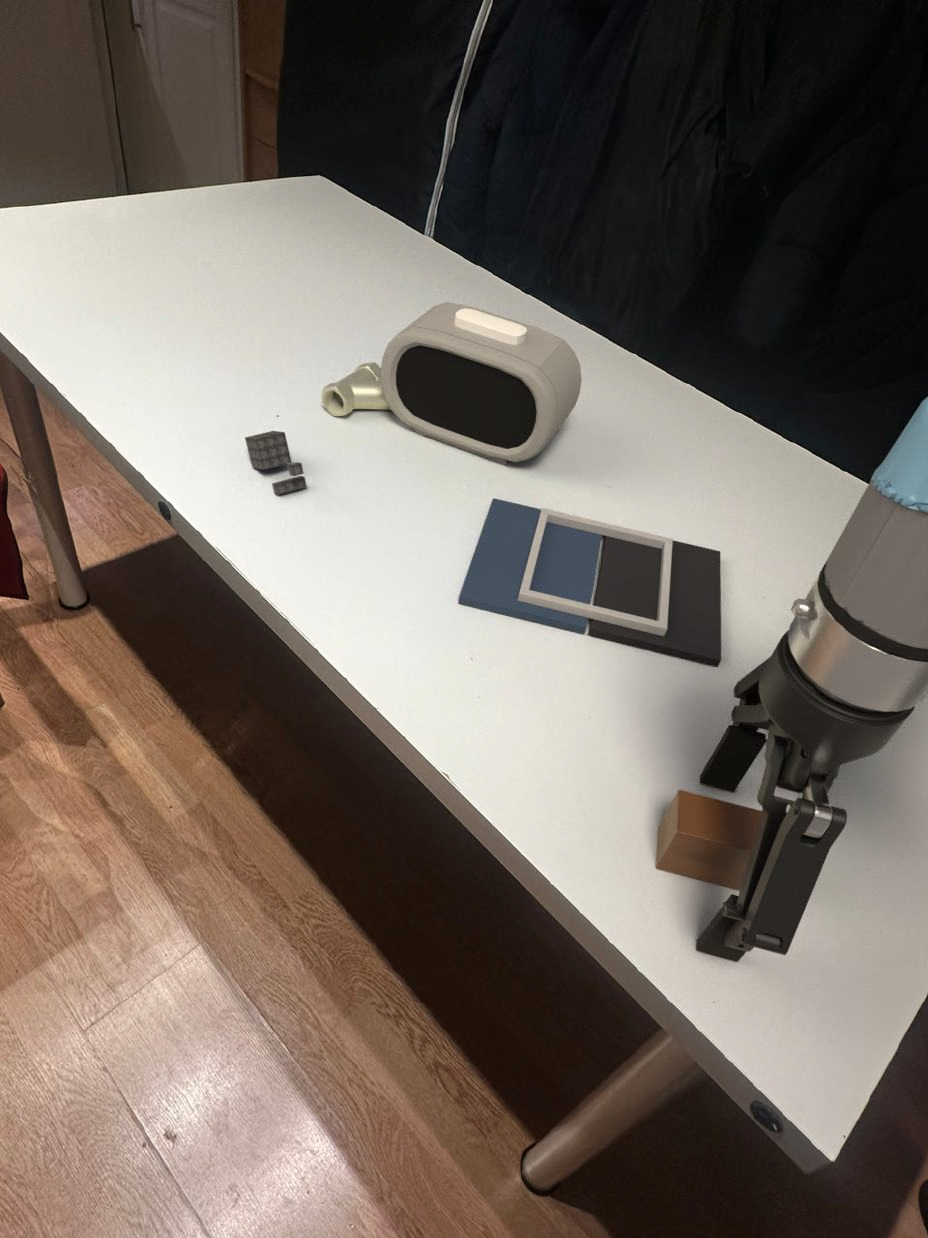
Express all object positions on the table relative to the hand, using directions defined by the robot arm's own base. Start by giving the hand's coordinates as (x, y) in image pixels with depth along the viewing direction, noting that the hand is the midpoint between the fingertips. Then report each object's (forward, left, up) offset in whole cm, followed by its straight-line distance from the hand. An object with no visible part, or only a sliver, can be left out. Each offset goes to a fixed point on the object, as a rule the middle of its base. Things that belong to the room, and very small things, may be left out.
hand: (716, 861), depth 59 cm
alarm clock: (+29, -49, 0) cm, 57 cm away
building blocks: (+46, -32, 0) cm, 56 cm away
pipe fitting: (+42, -49, 0) cm, 64 cm away
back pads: (+12, -28, 0) cm, 30 cm away
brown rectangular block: (0, 0, 0) cm, 0 cm away
